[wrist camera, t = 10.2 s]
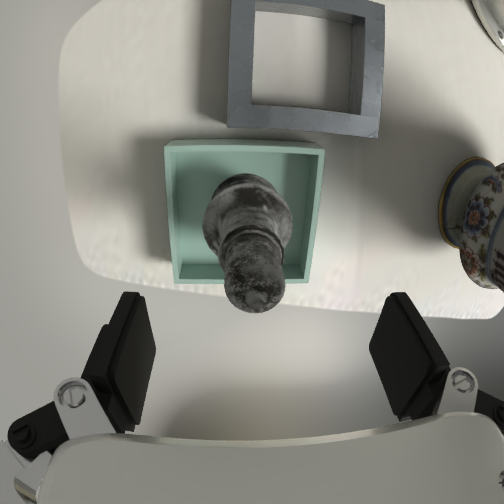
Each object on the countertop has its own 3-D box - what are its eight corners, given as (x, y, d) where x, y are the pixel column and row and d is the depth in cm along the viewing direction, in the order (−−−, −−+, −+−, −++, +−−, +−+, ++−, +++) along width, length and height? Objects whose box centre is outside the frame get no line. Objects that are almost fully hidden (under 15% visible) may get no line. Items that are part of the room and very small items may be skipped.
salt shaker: (231, 254, 25) (233, 373, 14) (191, 194, 22) (157, 291, 12) (297, 220, 24) (345, 326, 13) (261, 155, 21) (292, 220, 11)
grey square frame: (370, 11, 16) (384, 5, 14) (363, 134, 21) (377, 138, 19) (232, -7, 16) (232, -19, 14) (227, 124, 21) (226, 127, 18)
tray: (313, 142, 22) (325, 149, 19) (300, 263, 27) (308, 283, 24) (172, 140, 21) (164, 146, 18) (179, 263, 26) (174, 283, 23)
